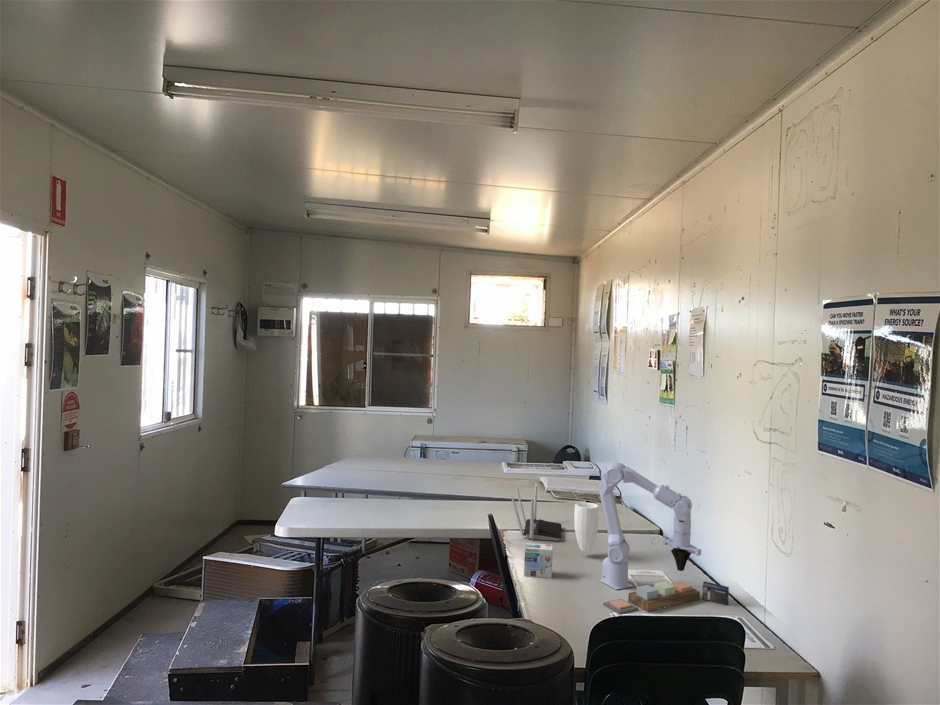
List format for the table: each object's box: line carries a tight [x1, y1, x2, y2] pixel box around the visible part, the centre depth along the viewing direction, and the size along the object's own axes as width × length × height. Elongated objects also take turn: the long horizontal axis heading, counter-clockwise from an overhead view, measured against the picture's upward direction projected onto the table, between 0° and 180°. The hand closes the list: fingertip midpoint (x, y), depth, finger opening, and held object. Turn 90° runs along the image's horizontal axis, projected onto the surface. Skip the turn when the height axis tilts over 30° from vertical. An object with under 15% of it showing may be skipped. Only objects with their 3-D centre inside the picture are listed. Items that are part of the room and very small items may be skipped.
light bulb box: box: [523, 542, 554, 579], centre depth 234 cm, size 11×7×11 cm, turn 82°
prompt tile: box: [602, 598, 639, 615], centre depth 205 cm, size 8×8×1 cm
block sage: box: [653, 580, 675, 596], centre depth 212 cm, size 5×5×4 cm
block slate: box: [636, 584, 658, 600], centre depth 208 cm, size 5×5×4 cm
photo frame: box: [628, 569, 673, 589], centre depth 232 cm, size 15×1×18 cm
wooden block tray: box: [627, 587, 701, 613], centre depth 212 cm, size 9×24×3 cm, turn 118°
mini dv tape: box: [701, 581, 730, 606], centre depth 212 cm, size 8×2×6 cm, turn 56°
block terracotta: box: [671, 580, 693, 593], centre depth 216 cm, size 5×5×4 cm
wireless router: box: [510, 482, 562, 542], centre depth 287 cm, size 34×23×20 cm
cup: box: [573, 501, 600, 552], centre depth 256 cm, size 10×10×22 cm
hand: (680, 570), depth 216 cm, fingers closed
